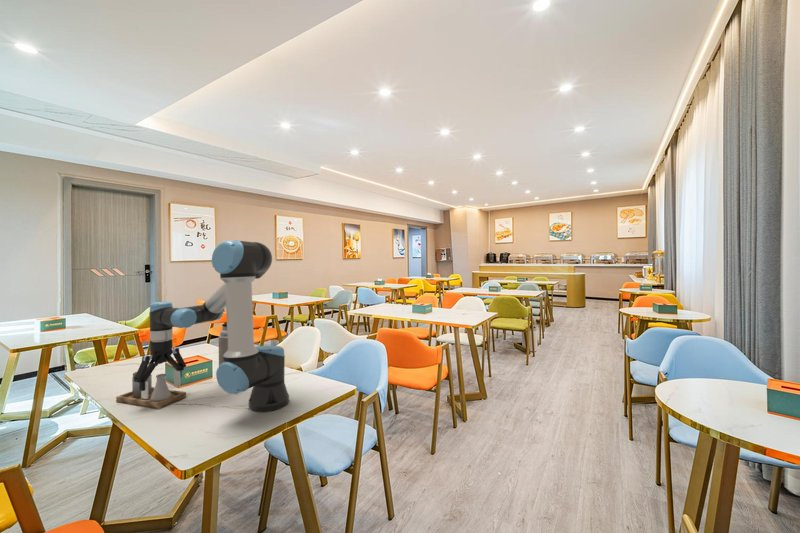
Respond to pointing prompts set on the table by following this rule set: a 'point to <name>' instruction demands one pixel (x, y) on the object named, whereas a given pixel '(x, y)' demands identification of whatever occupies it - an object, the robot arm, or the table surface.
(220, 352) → the thermos bottle
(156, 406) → the caddy
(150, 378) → the pepper shaker
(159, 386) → the flask
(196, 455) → the table surface
